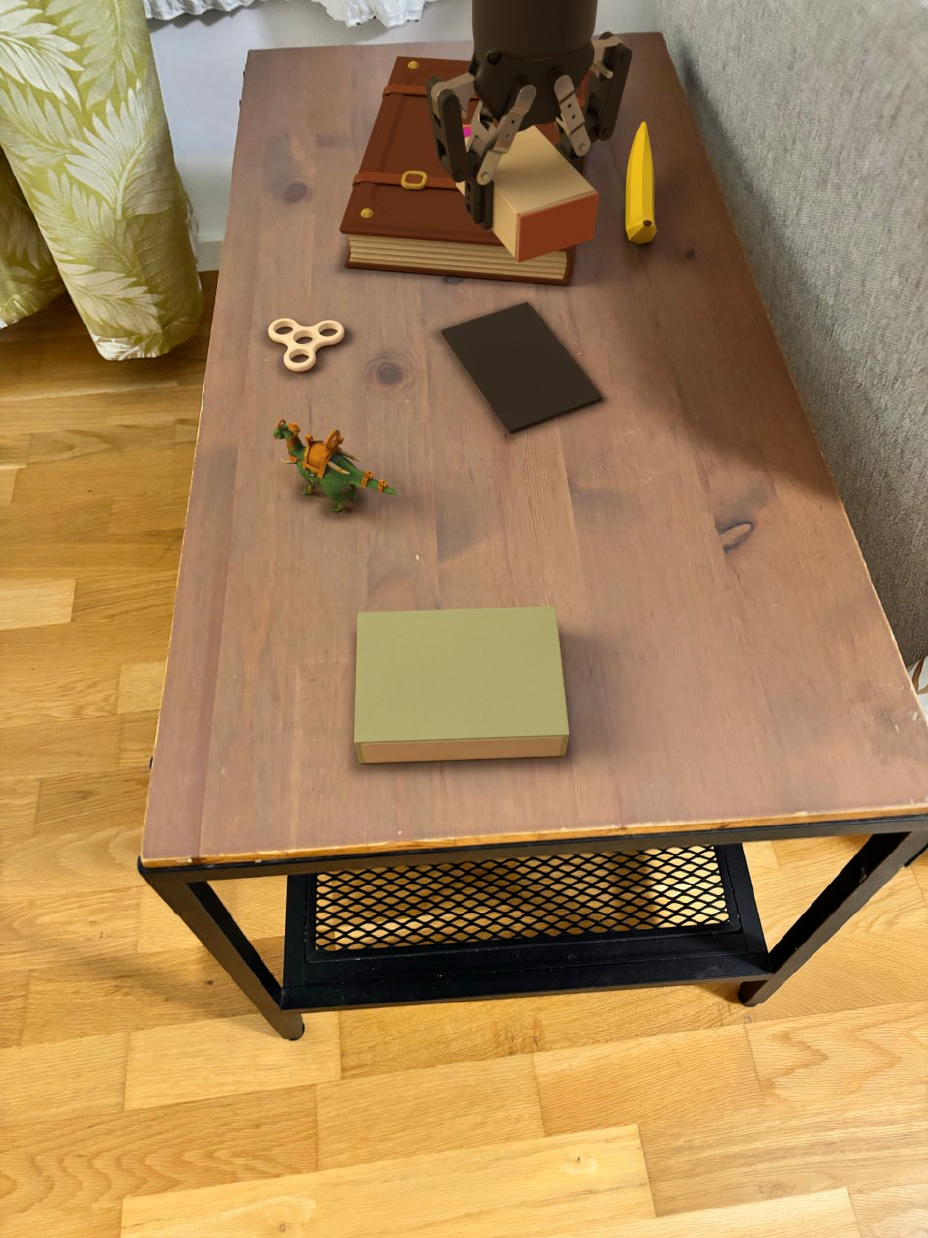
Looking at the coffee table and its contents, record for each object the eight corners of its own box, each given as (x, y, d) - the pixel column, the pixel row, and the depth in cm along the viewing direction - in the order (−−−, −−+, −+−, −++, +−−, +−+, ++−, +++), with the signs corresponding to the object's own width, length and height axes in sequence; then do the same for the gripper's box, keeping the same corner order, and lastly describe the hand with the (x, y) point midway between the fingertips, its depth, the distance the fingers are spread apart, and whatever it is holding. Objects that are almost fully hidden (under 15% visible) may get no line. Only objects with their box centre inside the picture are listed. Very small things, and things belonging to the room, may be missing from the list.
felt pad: (601, 400, 81) (602, 397, 80) (510, 433, 79) (510, 430, 78) (527, 304, 87) (527, 301, 87) (441, 333, 85) (441, 329, 85)
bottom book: (552, 631, 68) (555, 605, 65) (565, 757, 63) (569, 735, 60) (362, 637, 68) (357, 612, 65) (359, 764, 62) (353, 743, 60)
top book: (593, 239, 65) (599, 193, 62) (518, 263, 64) (520, 217, 61) (526, 164, 70) (529, 118, 67) (455, 185, 69) (454, 139, 66)
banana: (650, 166, 99) (660, 107, 94) (652, 281, 89) (664, 222, 84) (623, 165, 99) (632, 106, 94) (622, 280, 89) (632, 221, 84)
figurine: (295, 459, 77) (277, 386, 70) (412, 520, 74) (407, 449, 67) (271, 482, 76) (251, 411, 69) (390, 546, 72) (382, 477, 65)
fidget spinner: (346, 325, 86) (345, 319, 85) (336, 374, 82) (335, 368, 82) (272, 322, 86) (270, 315, 85) (259, 371, 83) (257, 364, 82)
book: (342, 267, 90) (335, 222, 86) (397, 94, 107) (394, 48, 103) (573, 287, 89) (578, 241, 84) (593, 107, 105) (598, 61, 101)
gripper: (452, 0, 49) (456, 269, 63) (680, -55, 52) (635, 212, 67) (396, -57, 53) (411, 209, 67) (612, -106, 56) (583, 158, 70)
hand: (523, 209), depth 67 cm, fingers closed on top book, 6 cm apart
